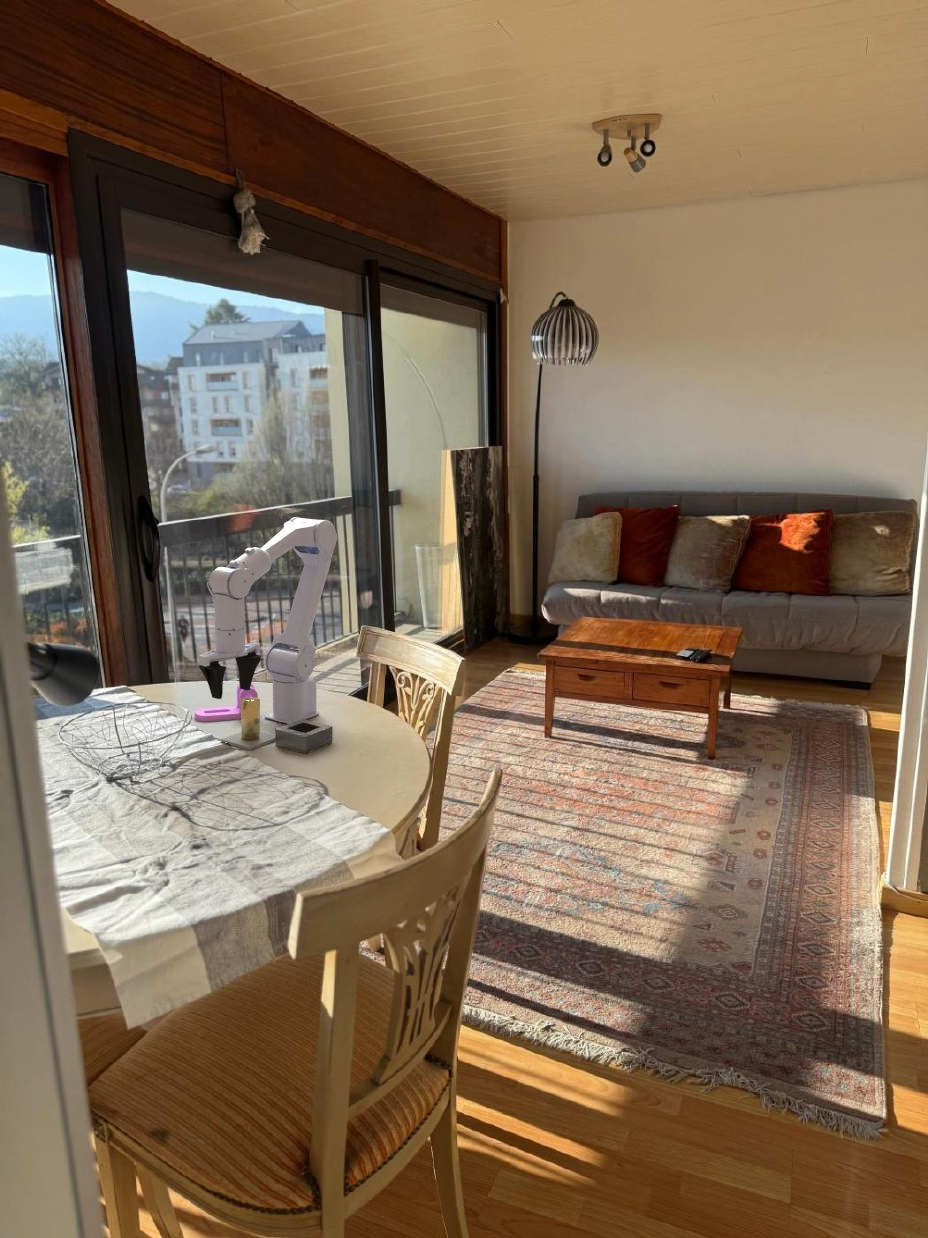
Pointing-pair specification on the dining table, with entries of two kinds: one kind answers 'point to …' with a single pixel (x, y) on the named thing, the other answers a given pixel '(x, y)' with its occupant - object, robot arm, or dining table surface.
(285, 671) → the robot arm
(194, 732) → the dining table surface
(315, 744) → the block
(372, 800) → the dining table surface
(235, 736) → the mat
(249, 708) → the key peg
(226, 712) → the bracket
